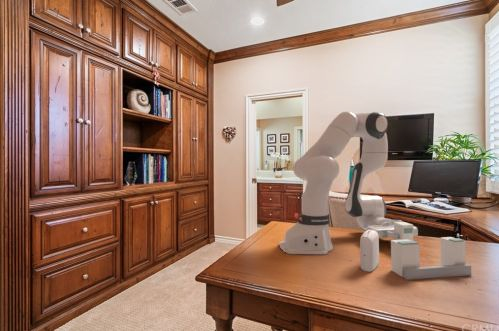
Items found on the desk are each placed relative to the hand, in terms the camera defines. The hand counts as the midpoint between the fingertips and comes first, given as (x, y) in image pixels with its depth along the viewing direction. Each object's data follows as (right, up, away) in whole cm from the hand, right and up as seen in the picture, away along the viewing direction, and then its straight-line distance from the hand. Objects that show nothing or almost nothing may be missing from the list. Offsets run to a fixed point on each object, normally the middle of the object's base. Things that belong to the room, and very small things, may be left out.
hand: (405, 236), depth 98 cm
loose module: (0, -6, +1) cm, 6 cm away
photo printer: (-21, -7, -13) cm, 25 cm away
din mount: (-4, -6, -19) cm, 20 cm away
